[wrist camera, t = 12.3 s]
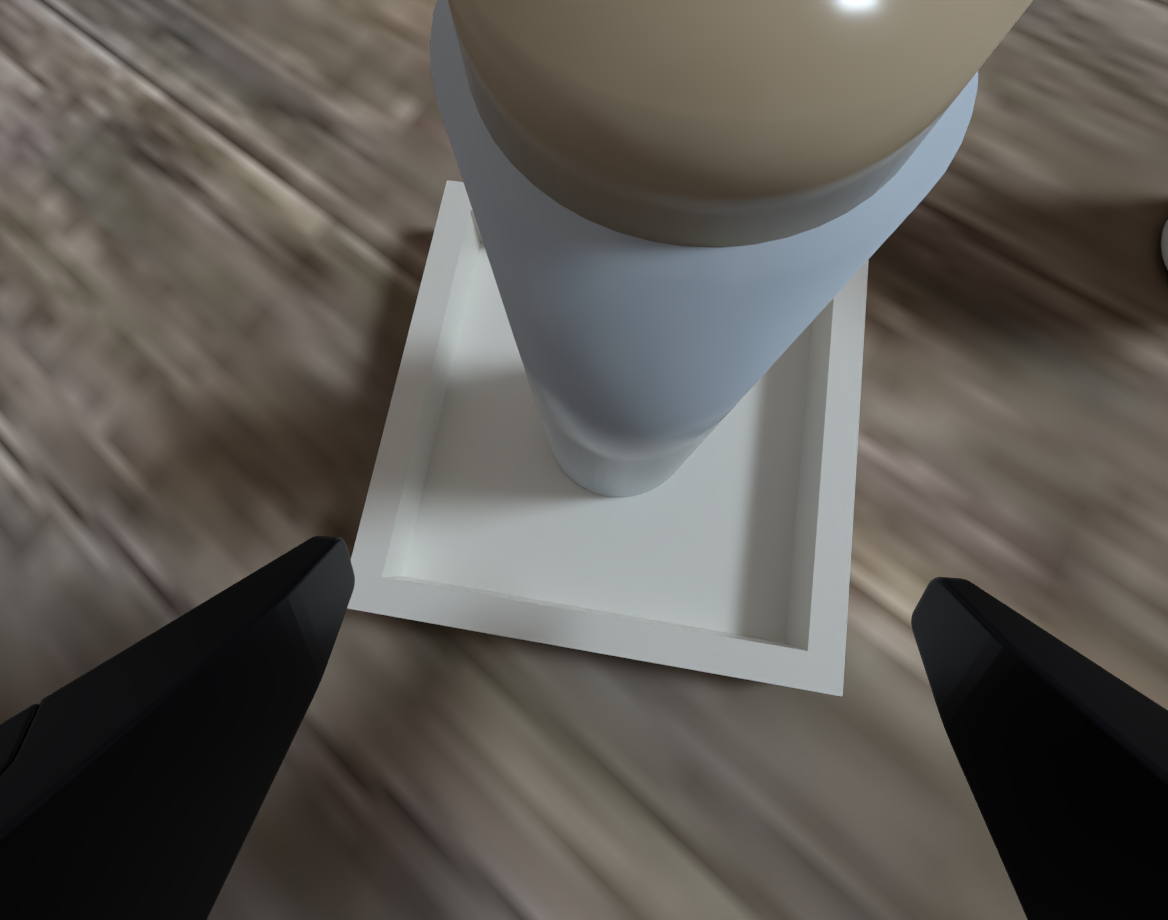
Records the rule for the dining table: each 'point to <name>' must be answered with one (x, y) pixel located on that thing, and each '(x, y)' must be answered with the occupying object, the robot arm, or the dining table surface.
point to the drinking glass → (1165, 244)
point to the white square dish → (613, 500)
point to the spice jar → (689, 188)
